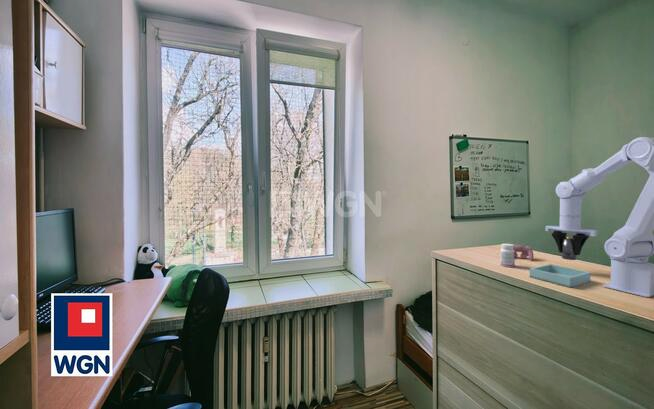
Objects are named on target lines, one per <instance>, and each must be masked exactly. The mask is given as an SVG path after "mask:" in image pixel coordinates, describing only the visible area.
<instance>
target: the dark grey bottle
mask: <svg viewBox="0 0 654 409" xmlns="http://www.w3.org/2000/svg"><path fill="white" fill-rule="evenodd" d="M577 256H578V255H574V240H573V236H566V238H563V239H562V253H561V258H562V259H564V260H569V261H570V260H571V261H576V260H577V258H578V257H577Z"/></svg>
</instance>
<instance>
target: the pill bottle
mask: <svg viewBox="0 0 654 409" xmlns="http://www.w3.org/2000/svg"><path fill="white" fill-rule="evenodd" d="M514 245H515V244H513V243H501V248H500V249H499V250H500V253H499V254H500V256H499V259H500V261H499V265H500V266H502V267H505V268H514V267H515V266H516V265H515V262H516V261H515V259H516V258H515V251H514V250H513V249H514Z"/></svg>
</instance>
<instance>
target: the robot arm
mask: <svg viewBox="0 0 654 409" xmlns="http://www.w3.org/2000/svg"><path fill="white" fill-rule="evenodd" d="M631 163H636V164H637V165H639V166H640V167H642V168H644V169H645V170H646V171H647V173H648V174H649V177H648V179H647V180H646V183H645V185H644V186H643V189H642V190H641V193H640V194H639V197H638V198H637V201H636V202H635V205H634V207H633V208H632V210H631V212H630V215H629V216H628V219H627V221H626V222H625V224H624V226H622V227H621V228H619V229H618V230H616V231H615V232H614V233H613V235H612V236H611V237H610V238H609V239H607V240H606V241H605V242H604V245H603V246H604V251H605V253H606V255H607V256H608V257H609V259H610V282H609V283H605V284H603V287H604V288H608V289H611V290H616V291H619V292H624V293H629V294H633V295H637V296H640V297H645V298H651V297H653V296H654V263H652V262H649V257H651V256H653V255H654V234H653V231H654V137H645V136H644V137H643V136H639V137H636V138H634V139H633V140H632V141H630V142H629V143H627V144H624V145H623V146H622V148H621V149H620V150H619V151H617V152H616V153H615V154H614V155H612V156H611V157H609V158H607V160H605V161H603V162H602V163H601V164H600V165H598V166H597V167H595V168H594V167H592V168H591V167H589V168H584V169H582V170H581V172H580V173H579V174H577V175H575V176H574V177H571V178H570V179H569V180H568V181H560V182H559V183H558V184H557V185H556V187H555V193H556V195H557V197H559V225H545V232H551V236H552V238H553V239H554V240H555V241H554V242H555V243H556V245H557V249H558V253H561V254H562V239H563V238H566V237H567V235H568V234H571V235H572V234H573V235H572V237H573V240H574V255H577V256H580V255H581V251H582V250H583V246H584V244H585V243H586V242H587V240H588V239H589V237H597V236H598V230H597V229H590V228H582V227H581V226H582V203H583V199H584V196H585V195H586V194H587V191H589V190H591V189H593V188H595V187H596V186H598V185H600V184H601V183H603V182H604V181H605V177H606V176H608V175H610V174H612V173H613V172H616V171H618V170H619V169H621V168H623V167H624V166H627V165H628V164H631Z"/></svg>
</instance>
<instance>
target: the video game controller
mask: <svg viewBox="0 0 654 409" xmlns="http://www.w3.org/2000/svg"><path fill="white" fill-rule="evenodd" d="M513 245H514V249H513V250H514V251H515V259H516V258H518V256H520V258H521V259H524V260H525V259H527V257H528V258H529V261H531V262H532V261H534V257H535V256H534V252H533V249H532V248H531V247H530V246H527V245H523V244H513ZM518 253H520V255H519V254H518Z"/></svg>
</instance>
